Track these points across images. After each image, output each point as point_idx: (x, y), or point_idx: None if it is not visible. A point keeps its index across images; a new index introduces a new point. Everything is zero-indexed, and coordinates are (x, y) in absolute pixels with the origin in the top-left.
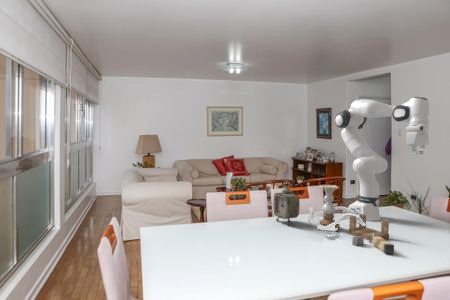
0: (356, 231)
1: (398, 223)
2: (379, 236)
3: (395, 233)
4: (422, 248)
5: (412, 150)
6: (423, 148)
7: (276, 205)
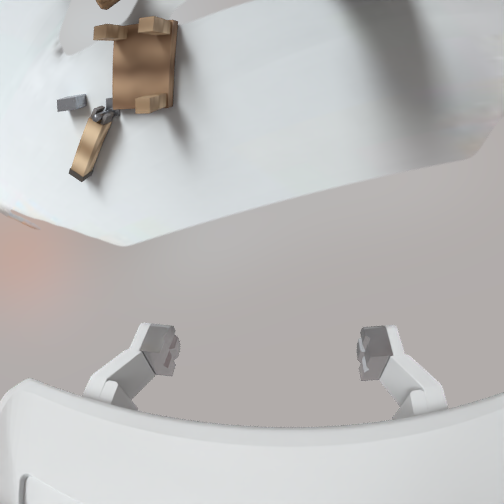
0: (113, 52)
1: (372, 49)
2: (100, 128)
3: (240, 88)
4: (174, 188)
5: (121, 357)
6: (398, 401)
7: None
